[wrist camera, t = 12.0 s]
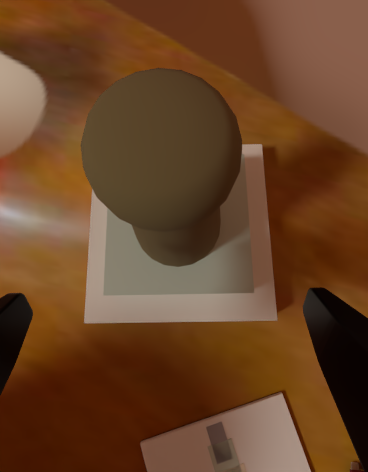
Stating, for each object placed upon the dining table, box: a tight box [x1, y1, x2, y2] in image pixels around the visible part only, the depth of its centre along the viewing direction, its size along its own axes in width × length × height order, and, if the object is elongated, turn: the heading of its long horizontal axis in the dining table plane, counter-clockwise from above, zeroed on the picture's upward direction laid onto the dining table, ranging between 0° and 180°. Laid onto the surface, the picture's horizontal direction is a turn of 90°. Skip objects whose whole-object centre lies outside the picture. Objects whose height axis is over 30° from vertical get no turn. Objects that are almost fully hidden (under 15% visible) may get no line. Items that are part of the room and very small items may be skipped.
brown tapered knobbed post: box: [81, 68, 242, 267], centre depth 12 cm, size 6×6×11 cm
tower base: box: [84, 144, 277, 323], centre depth 20 cm, size 14×14×4 cm
